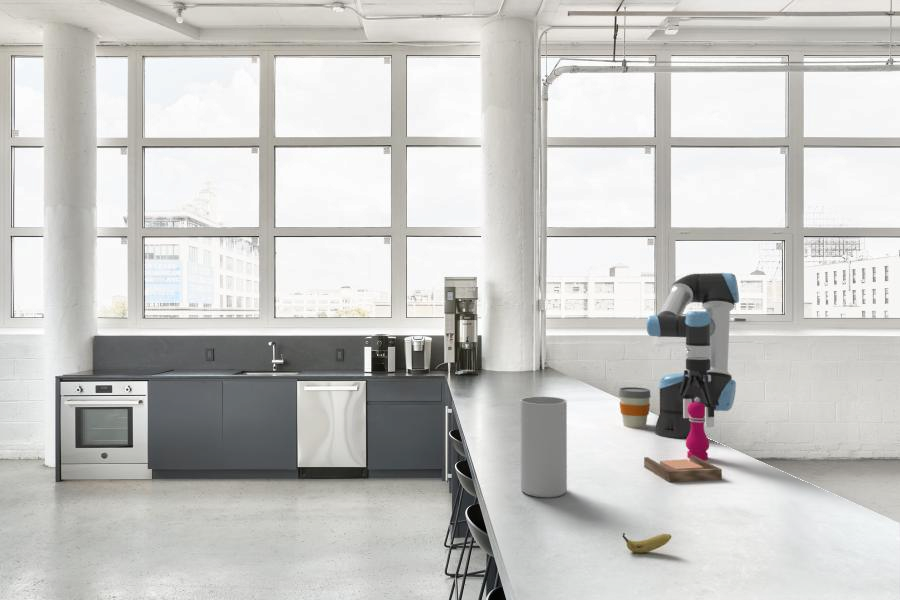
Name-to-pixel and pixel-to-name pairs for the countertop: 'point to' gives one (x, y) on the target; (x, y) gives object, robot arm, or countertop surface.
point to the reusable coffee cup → (634, 406)
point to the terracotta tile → (680, 464)
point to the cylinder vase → (544, 446)
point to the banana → (647, 543)
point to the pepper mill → (697, 431)
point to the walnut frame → (685, 471)
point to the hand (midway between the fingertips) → (698, 422)
